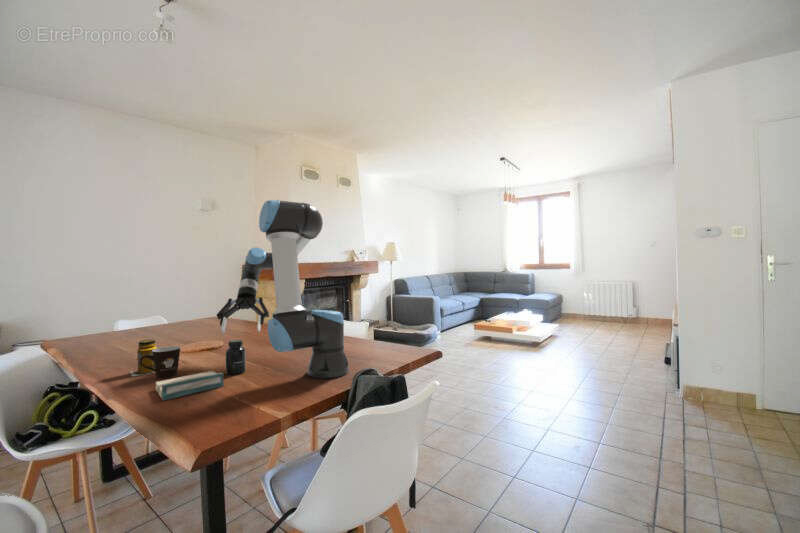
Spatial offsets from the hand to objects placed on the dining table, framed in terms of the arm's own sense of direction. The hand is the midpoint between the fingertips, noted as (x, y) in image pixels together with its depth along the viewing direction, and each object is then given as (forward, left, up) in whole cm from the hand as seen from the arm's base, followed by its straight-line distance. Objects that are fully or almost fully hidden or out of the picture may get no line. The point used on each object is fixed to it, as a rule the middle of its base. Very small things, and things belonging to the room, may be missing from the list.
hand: (240, 331), depth 141 cm
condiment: (+17, +30, -14) cm, 37 cm away
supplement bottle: (-9, +5, -14) cm, 17 cm away
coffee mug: (+6, +26, -14) cm, 30 cm away
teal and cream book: (-15, +21, -14) cm, 29 cm away
